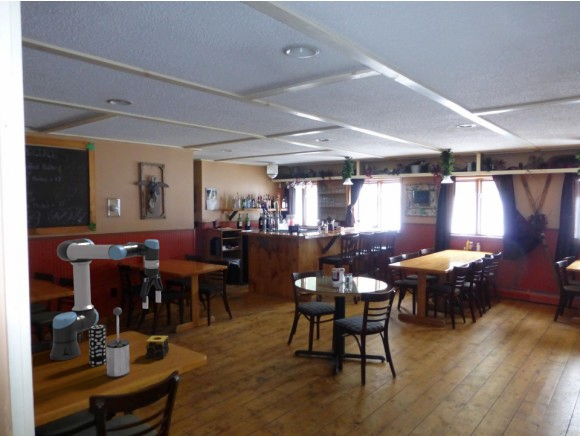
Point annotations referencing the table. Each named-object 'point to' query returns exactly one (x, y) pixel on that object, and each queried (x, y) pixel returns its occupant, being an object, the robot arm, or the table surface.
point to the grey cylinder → (118, 358)
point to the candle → (157, 347)
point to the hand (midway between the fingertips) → (152, 305)
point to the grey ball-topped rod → (117, 312)
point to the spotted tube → (97, 345)
